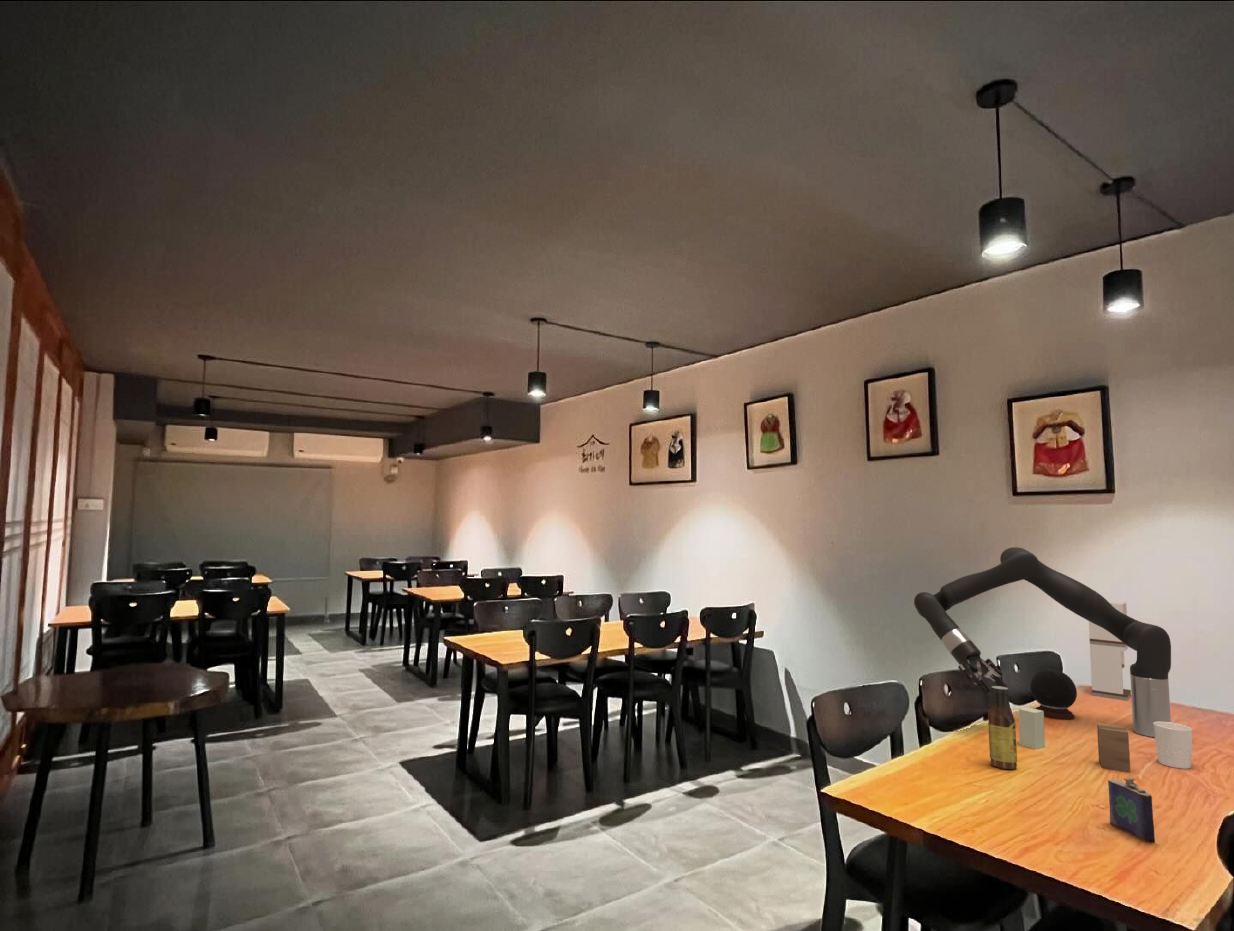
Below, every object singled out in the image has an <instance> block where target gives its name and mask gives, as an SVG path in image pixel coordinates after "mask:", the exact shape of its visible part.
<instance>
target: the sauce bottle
mask: <svg viewBox="0 0 1234 931" xmlns="http://www.w3.org/2000/svg"><path fill="white" fill-rule="evenodd" d="M990 689H991V696H992V698H991V699H992V701H991V703H992V705H991V707H990V708H989V710H988V713H987V716H988V718H987V719H988V720H987V721H988V723H987V727H988V746H989V750H988V751H989V759H990V764H991V765H992V766H993V767H996V768H999V769H1003V770H1015V769H1017V767H1018V763H1017V762H1018V749H1017V746H1018V745H1017V732H1016V731H1017V730H1016V727H1017V726H1016V719H1015V717H1014V714H1013V711H1012V708H1011V706H1010V703H1009V694H1010V692H1009V691H1010V690H1009V687H1008V688H1006V687H1001V686H997V685H992V686H991V687H990Z"/></svg>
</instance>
